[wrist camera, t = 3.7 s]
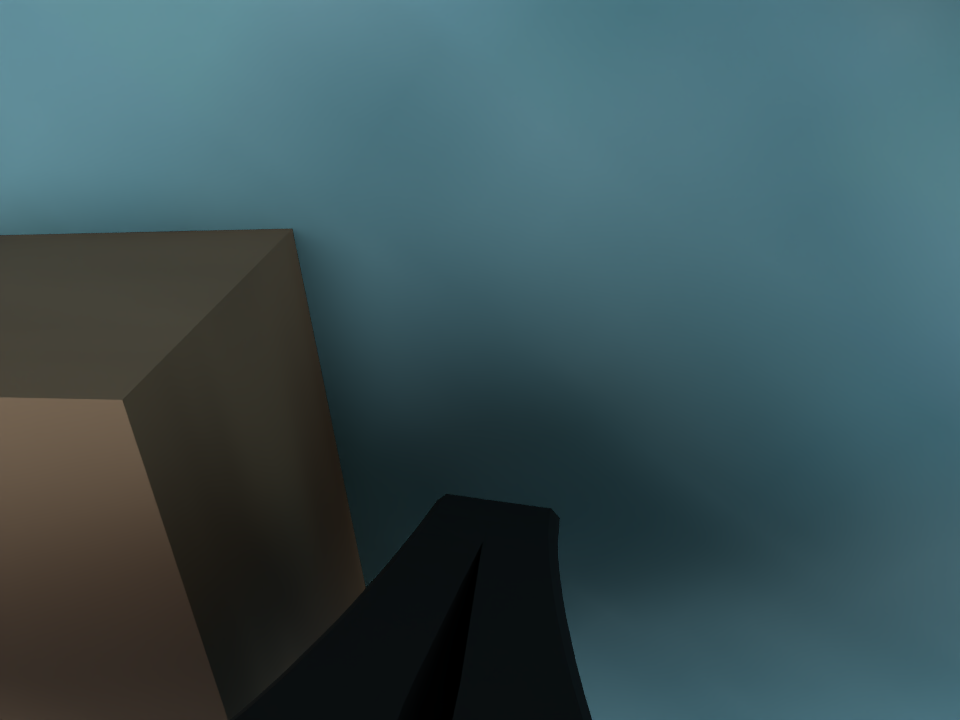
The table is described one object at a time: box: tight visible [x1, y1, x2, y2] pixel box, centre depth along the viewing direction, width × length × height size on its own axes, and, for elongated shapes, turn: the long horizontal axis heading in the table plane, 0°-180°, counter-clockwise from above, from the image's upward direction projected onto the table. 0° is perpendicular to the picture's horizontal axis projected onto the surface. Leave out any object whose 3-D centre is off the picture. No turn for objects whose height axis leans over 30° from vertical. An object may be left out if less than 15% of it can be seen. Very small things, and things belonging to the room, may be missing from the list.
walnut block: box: [0, 229, 366, 720], centre depth 11 cm, size 6×7×4 cm
